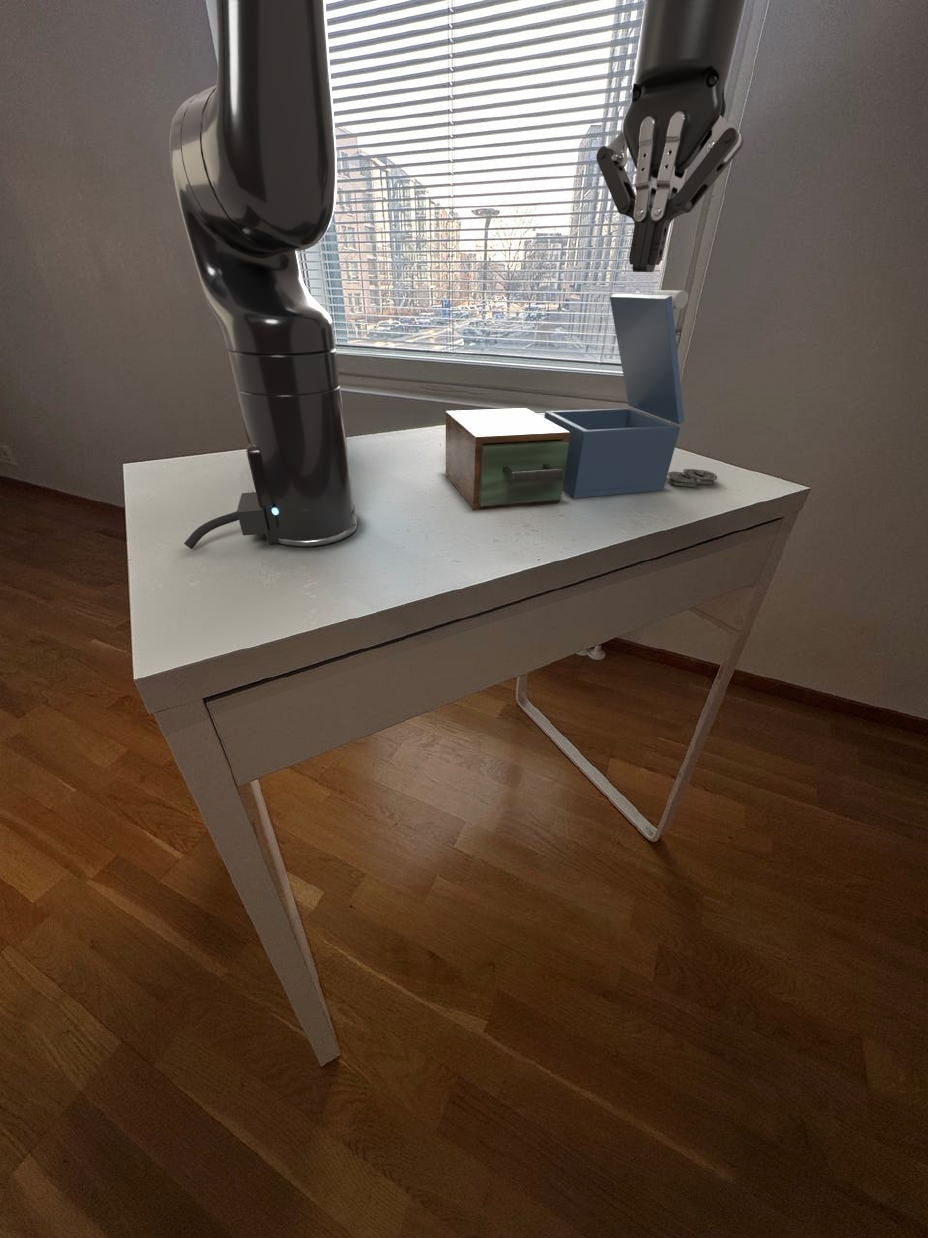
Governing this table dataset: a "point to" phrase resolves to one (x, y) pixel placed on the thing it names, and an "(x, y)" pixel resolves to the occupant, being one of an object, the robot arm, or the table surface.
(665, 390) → the lid
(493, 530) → the table surface
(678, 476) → the corroded twin loop
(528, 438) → the cabinet
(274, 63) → the robot arm
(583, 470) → the chest
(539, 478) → the drawer
